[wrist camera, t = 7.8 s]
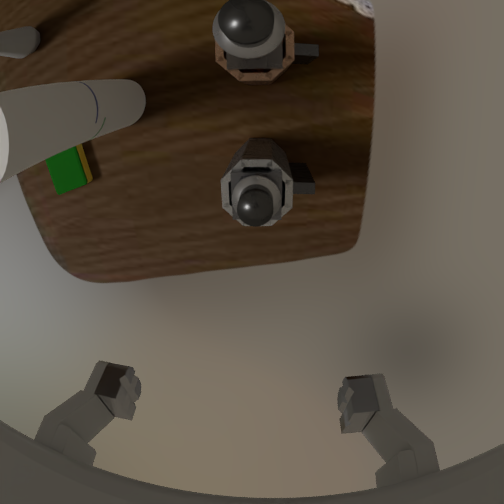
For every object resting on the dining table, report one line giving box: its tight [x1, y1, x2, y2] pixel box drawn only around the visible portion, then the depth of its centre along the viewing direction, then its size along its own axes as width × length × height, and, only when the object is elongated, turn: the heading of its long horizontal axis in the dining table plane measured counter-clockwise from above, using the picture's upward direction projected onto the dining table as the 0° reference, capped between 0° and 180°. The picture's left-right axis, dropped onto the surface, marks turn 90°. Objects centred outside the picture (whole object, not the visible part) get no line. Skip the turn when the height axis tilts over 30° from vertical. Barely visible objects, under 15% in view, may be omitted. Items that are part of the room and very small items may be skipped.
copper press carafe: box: [215, 25, 319, 85], centre depth 25 cm, size 7×9×13 cm
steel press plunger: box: [232, 167, 281, 226], centre depth 29 cm, size 4×4×12 cm
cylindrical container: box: [0, 79, 146, 183], centre depth 23 cm, size 7×7×25 cm
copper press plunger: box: [213, 0, 285, 59], centre depth 17 cm, size 4×4×12 cm
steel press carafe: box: [221, 138, 315, 226], centre depth 32 cm, size 7×9×13 cm
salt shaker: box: [0, 26, 40, 58], centre depth 21 cm, size 6×6×13 cm
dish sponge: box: [45, 144, 93, 195], centre depth 36 cm, size 7×14×2 cm, turn 12°
